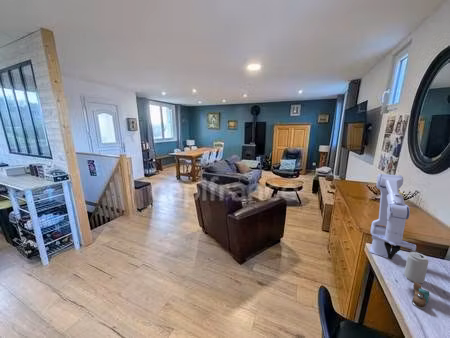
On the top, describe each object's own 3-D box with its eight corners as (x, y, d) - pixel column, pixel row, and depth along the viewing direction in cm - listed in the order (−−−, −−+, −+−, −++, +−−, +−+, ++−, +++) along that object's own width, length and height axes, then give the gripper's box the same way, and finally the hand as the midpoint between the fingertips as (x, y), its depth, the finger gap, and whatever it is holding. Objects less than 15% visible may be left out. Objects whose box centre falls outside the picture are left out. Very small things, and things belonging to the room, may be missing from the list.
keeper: (417, 297, 74) (419, 287, 73) (426, 301, 72) (429, 291, 72) (417, 299, 73) (419, 290, 72) (427, 303, 71) (429, 293, 71)
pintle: (411, 299, 73) (413, 289, 73) (424, 304, 71) (426, 294, 70) (412, 305, 71) (414, 295, 70) (425, 311, 68) (428, 301, 68)
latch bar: (425, 308, 69) (426, 303, 68) (413, 303, 71) (414, 298, 70) (421, 289, 77) (423, 284, 77) (411, 285, 79) (412, 280, 79)
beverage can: (428, 285, 80) (433, 261, 78) (410, 283, 81) (415, 259, 79) (416, 274, 86) (421, 251, 84) (400, 272, 87) (404, 250, 85)
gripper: (373, 228, 83) (369, 255, 86) (419, 240, 74) (413, 270, 76) (374, 223, 88) (370, 248, 91) (417, 233, 79) (411, 261, 81)
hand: (389, 258), depth 84 cm, fingers closed
